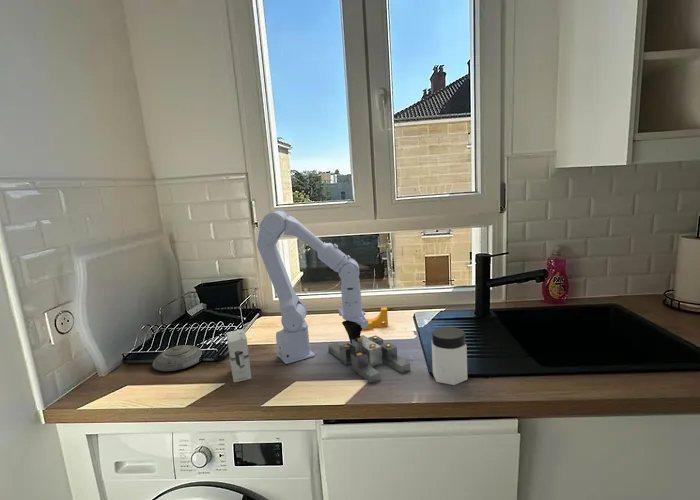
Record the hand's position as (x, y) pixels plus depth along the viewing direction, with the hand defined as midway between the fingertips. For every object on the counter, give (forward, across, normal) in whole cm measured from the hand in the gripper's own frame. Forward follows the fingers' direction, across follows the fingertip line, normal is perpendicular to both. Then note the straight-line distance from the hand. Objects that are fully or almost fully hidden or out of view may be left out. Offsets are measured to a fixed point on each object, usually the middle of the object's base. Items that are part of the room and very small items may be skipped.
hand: (354, 343), depth 125 cm
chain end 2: (+3, -14, 0) cm, 14 cm away
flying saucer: (+3, +27, +47) cm, 54 cm away
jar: (+3, -28, -12) cm, 31 cm away
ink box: (+3, +7, +33) cm, 34 cm away
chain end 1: (+3, 0, 0) cm, 3 cm away
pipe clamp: (+3, +15, -14) cm, 21 cm away
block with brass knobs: (+3, -6, 0) cm, 7 cm away
